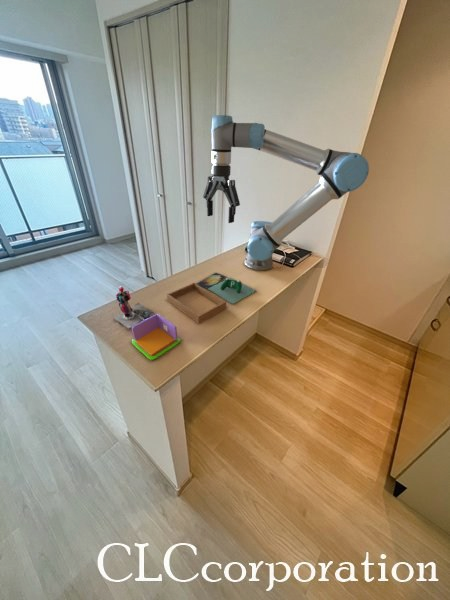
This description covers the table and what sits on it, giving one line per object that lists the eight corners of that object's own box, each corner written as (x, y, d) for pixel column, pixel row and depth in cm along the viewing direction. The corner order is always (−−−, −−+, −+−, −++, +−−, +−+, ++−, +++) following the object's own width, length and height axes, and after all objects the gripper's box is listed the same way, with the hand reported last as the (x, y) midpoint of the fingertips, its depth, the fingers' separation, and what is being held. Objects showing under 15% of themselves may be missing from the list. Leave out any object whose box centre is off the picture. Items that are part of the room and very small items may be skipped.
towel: (230, 278, 116) (230, 277, 116) (256, 291, 107) (256, 290, 107) (207, 289, 107) (207, 288, 107) (233, 304, 98) (233, 303, 98)
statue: (130, 332, 84) (116, 300, 74) (115, 321, 89) (100, 289, 79) (154, 314, 91) (144, 283, 81) (139, 305, 95) (127, 274, 85)
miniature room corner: (160, 325, 86) (158, 310, 82) (182, 341, 80) (180, 325, 76) (130, 342, 78) (126, 326, 74) (151, 361, 72) (148, 345, 68)
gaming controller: (240, 295, 107) (243, 282, 108) (239, 292, 103) (242, 279, 104) (221, 291, 109) (224, 278, 110) (219, 289, 105) (222, 276, 106)
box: (194, 288, 108) (194, 282, 106) (226, 307, 96) (226, 301, 94) (167, 300, 99) (166, 294, 97) (198, 323, 87) (198, 317, 86)
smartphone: (195, 284, 110) (215, 272, 120) (195, 285, 111) (215, 273, 120) (206, 289, 107) (227, 276, 116) (206, 290, 107) (227, 278, 117)
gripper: (194, 162, 99) (196, 214, 111) (237, 168, 85) (234, 227, 97) (207, 161, 103) (208, 211, 115) (251, 167, 89) (246, 223, 101)
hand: (220, 219), depth 106 cm, fingers open, 13 cm apart
